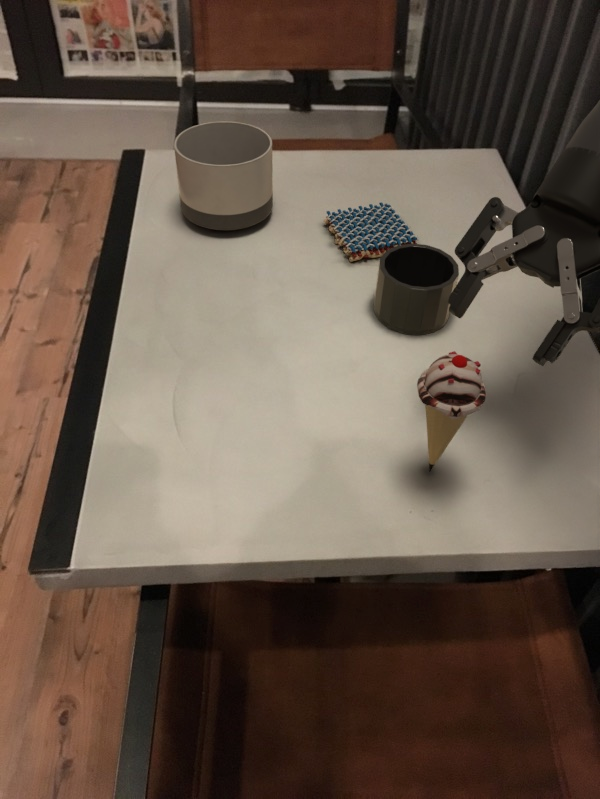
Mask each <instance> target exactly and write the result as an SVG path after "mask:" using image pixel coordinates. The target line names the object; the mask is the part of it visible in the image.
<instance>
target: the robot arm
mask: <svg viewBox="0 0 600 799" xmlns="http://www.w3.org/2000/svg"><path fill="white" fill-rule="evenodd" d="M508 226H511V233H512V237H511V238H509V239H507V240H505V241H503V242H501V243H499V244H497V245H493V247H491V248H490V250H489V251H487V252H485V253H483V254H481V253H482V252H483V251H484V249H485V248H486V246H487V245H488V243H489V242H490V240H491V239H492V238H493V237H494V235H495V234H496V232H501V231H503V230H504V229H505V228H506V227H508ZM454 255H455V256H456V257H457V258H458V259H459V260H460V262H461V263H462V264H463V266H464V269H465V270H464V272H463V275H462V276H461V278H459V281H457V285H456V287H455V288H454V290H453V292H452V293H451V295H450V296H449V300H448V303H449V304H450V307H449V312H450V315H453V316H455V318H458V319H462V318H463V317H464V315H465V314H466V312H467V311H468V309H469V308H470V306H471V305H472V303H473V302H474V300H475V298H476V297H477V295H478V293H479V292H480V291H481V289H482V287H483V286H484V283H483V280H486V279H488V278H490V277H492V276H494V275H496V274H499V273H505V272H509V271H511V270H513V269H515V268H518V269H519V270H520V272H521V273H523V274H525V275H527V276H529V277H532V278H538V279H540V281H541V282H543V284H545V285H546V286H549V287H551V288H552V289H553V288H555V287H558V288H559V287H560V293H561V299H562V301H561V302H562V313H563V317H562V318H561V320H559V319H556V321H555V322H554V324H553V326H552V327H551V328H550V329H549V331H548V333H547V334H546V335H545V337H544V338H543V340H542V342H541V343H540V345H539V346H538V348H537V349H536V351H535V352H534V353H533V355H532V358H531V359H532V360H533V362H535V363H536V364H538V365H539V366H541V367H544V366H546V365H547V363H548V362H549V363H550V364H553V363H554V362H556V361H557V360H558V359H559V358H560V357H561V355H562V354H563V353H564V351H565V349H566V347H568V345H569V344H570V342H571V341H572V339H573V338H574V336H575V335H576V334H577V333H578V332H582V331H585V332H590V333H592V332H593V333H594V334H596V335H600V299H599V300H598V301H597V303H596V304H595V306H594V308H593V309H592V312H588V311H583V292H582V291H583V290H582V282H581V279H582V278H585V277H587V276H589V275H592V274H594V273H596V272H598V271H600V99H599V100H598V102H597V103H596V104H595V106H593V108H592V109H591V110H590V112H588V114H587V115H586V116H585V118H583V120H582V121H581V123H580V124H579V126H578V127H577V128H576V130H575V131H574V133H573V135H571V138H570V139H569V141H568V142H567V144H566V146H564V149H563V150H562V152H561V153H560V154H559V156H558V157H557V160H556V161H555V163H554V164H553V166H552V167H551V169H550V170H549V172H548V173H547V175H546V176H545V178H544V180H543V181H542V183H541V184H540V185H539V187H538V189H537V190H536V192H535V193H534V195H533V196H532V200H531V201H530V203H529V204H528V205H527V206H526V207H524V209H523V210H520V211H519V212H518V211H516V210H514V209H512V208H510V207H509V206H507V205H505V204H504V203H503V201H502V199H501V198H500V197H499V196H494V197H492V198H489V200H488V201H487V203H486V204H485V206H484V207H483V209H482V210H481V211H480V212H479V214H478V215H477V217H476V219H475V220H474V221H473V222H472V224H471V225H470V227H469V228H468V229H467V231H466V232H465V234H464V235H463V236H462V238H461V239H460V241H459V242H458V244H457V245H456V246H455V248H454Z"/></svg>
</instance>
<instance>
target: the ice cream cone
mask: <svg viewBox="0 0 600 799" xmlns="http://www.w3.org/2000/svg"><path fill="white" fill-rule="evenodd" d="M479 367H481V362H479V361H478V360H476V361H473V360H472V359H471V358H469V357H467V356H465V355H462V354H458V353H457V351H450V352H448V353H447V354H445V355H442V356H440V357H438V358H436V360H434V361H433V362H432V363H431V364H430V366H429V367H428V368H426V369H425V370H424V371H423V372H422V373H421V374H420V375H419V378H418V380H417V383H416V388H417V393H418V397H419V399H420V401H421V403H422V404H424V405H425V420H426V437H427V438H426V439H427V454H428V455H427V457H428V471H429V473H431V472H432V470H433V469H434V467H435V465H436V464H437V463H438V461H439V459H440V458H441V456H442V455H443V453H444V452H445V451H446V449H447V447H449V444H450V443H451V442H452V440H453V438H454V437H455V435H456V434H457V432H458V431H459V429H460V428H461V426H462V425H463V423H464V422H465V421H466V419H467V417H469V415H472V414H475V413H476V412H478V411H479V410H480V409H481V408H482V407H483V406H484V404H485V402H486V399H487V391H486V387H485V384H484V382H483V380H482V373H481V369H479Z"/></svg>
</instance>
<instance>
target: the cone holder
mask: <svg viewBox="0 0 600 799" xmlns="http://www.w3.org/2000/svg"><path fill="white" fill-rule="evenodd" d="M459 276H460V269H459V264H458V263H457V262H456V260H455V259H454V257H453V256H452V255H450V254H448V253H447V252H446V251H444V250H442V249H440V248H437V247H434V246H431V245H428V244H420V243H417V244H406V245H399V246H395V247H393V248H391V249H389V250H387V251H386V252H385V253H384V254H383V255H382V256H381V257H379V262H378V269H377V278H376V284H375V285H376V286H375V292H374V302H373V312H374V314H375V316H376V318H377V320H378V321H379V322H380V323H381V324H383V326H385V327H386V328H388V329H390V330H392V331H395V332H397V333H400V334H403V335H404V334H405V335H411V336H422V335H429V334H431V333H435V332H436V331H439V330H440V329H442V328H443V327H444V326H445V325H446V323H447V322H448V320H449V317H450V315H451V313H450V312H449V307H450V304H449V303H448V300H449V296H450V295H451V293H452V292H453V290H454V288H455V287H456V285H457V284H458V282H459V281H458V280H459Z"/></svg>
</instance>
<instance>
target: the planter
mask: <svg viewBox="0 0 600 799" xmlns="http://www.w3.org/2000/svg"><path fill="white" fill-rule="evenodd" d="M173 150H174V159H175V168H176V176H177V186H178V194H179V202H180V203H179V204H180V210H181V213H182V215H183V216H184V217H185V218H186V220H188V221H189V222H191V223H192V224H194V225H196V226H199V227H201V228H205V229H210V230H216V231H236V230H237V231H238V230H242V229H248V228H249V227H253V226H255V225H257V224H260V223H261V222H263V221H265V219H267V217H269V216H270V214H271V213H272V210H273V207H274V191H273V189H274V188H273V187H274V185H273V184H274V179H273V178H274V175H273V174H274V173H273V172H274V171H273V170H274V168H273V164H274V163H273V159H274V158H273V139H272V137H271V136H270V134H269V133H268V132H267V131H265V130H264V129H262V128H260V127H259V126H256V125H253V124H249V123H245V122H239V121H230V120H224V121H222V120H221V121H219V120H218V121H209V122H204V123H203V122H202V123H200V124H199V123H198V124H197V125H193V126H190V127H188V128H186V129H184V130H183V131H181V132H180V133H179V134H178V135H177V136H176V137H175V138H174V142H173Z"/></svg>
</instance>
